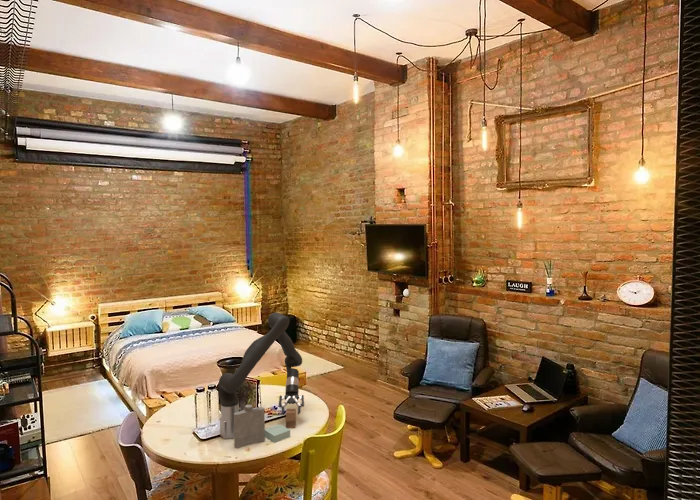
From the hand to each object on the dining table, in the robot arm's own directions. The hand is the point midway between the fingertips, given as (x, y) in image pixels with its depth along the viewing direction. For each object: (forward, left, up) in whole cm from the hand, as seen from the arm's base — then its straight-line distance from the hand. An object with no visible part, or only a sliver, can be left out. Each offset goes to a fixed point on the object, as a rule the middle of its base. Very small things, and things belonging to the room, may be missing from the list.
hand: (290, 413), depth 260 cm
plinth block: (-13, -7, -7) cm, 16 cm away
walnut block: (-1, -1, -7) cm, 7 cm away
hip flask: (-28, -5, -7) cm, 29 cm away
